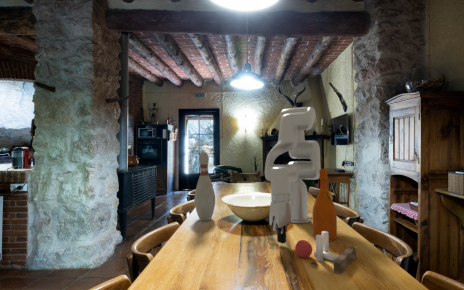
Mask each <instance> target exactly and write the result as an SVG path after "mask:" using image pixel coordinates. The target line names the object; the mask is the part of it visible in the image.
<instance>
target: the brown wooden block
mask: <svg viewBox="0 0 464 290" xmlns="http://www.w3.org/2000/svg"><path fill="white" fill-rule="evenodd" d="M356 257H357V247H355V246H353V245H349V246H348V247H347V248H346V249H345V250H344V251H343V252H342V253H341V254H340V255H339V257H338V258H337V259H336V260H334V261H333V273H335V274H338V275H341V274H342V273H343V272H344V271H345V270H346V268H347V267H348V266H349V265H350V264H351V263H352V262H353V261H354V260H355V258H356Z"/></svg>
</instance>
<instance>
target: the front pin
mask: <svg viewBox="0 0 464 290" xmlns="http://www.w3.org/2000/svg"><path fill="white" fill-rule="evenodd" d="M313 255H314V257H316V248H315V249H314V251H313ZM339 256H340V255H339V254H336V253H331V252H329V253H328V252H324V251H323V260H328V261H331V262H334V260H336V259H337V258H338V257H339Z"/></svg>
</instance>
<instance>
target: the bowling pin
mask: <svg viewBox="0 0 464 290" xmlns="http://www.w3.org/2000/svg"><path fill="white" fill-rule="evenodd" d="M209 160H210V158H209V154H208V152H206V151H201V152H200V153H199V156H198V164H199V169H200V172H199V173H200V174H199V177H198V180H197V183H196V188H195V192H194V196H193V197H194V206H195V211H196V213H197V216H198V219H199V221H201V222H207V221H208V222H209V221H210V220H211V219H212V218H213V214H214V212H215V208H216V206H215V205H216V194H215V193H216V192H215V190H214V186H213V182H212V180H211V178H210V175H209V171H208V170H209V167H208V166H209V162H210V161H209Z"/></svg>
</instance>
